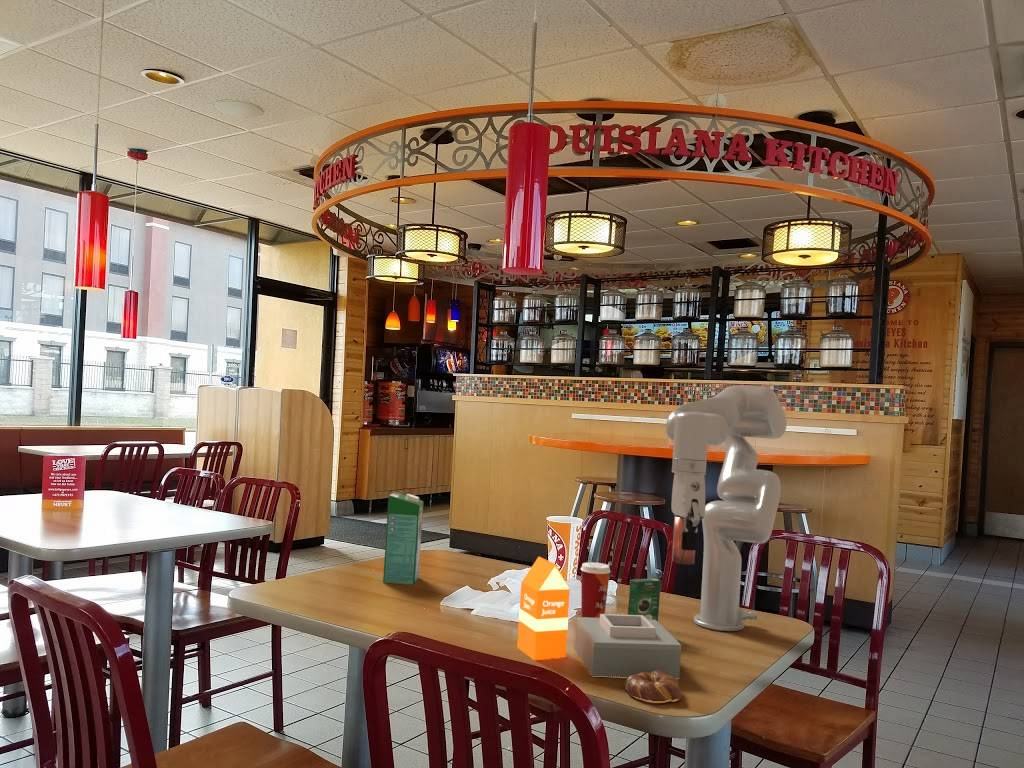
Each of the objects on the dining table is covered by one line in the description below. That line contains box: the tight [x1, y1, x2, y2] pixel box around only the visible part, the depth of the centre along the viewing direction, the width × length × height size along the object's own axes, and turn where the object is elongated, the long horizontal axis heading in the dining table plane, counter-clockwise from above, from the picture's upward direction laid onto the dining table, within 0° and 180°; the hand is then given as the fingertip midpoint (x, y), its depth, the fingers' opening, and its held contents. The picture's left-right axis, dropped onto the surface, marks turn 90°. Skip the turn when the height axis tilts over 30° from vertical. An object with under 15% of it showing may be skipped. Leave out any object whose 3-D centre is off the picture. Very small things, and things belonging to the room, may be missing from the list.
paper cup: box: [580, 561, 612, 618], centre depth 200 cm, size 8×8×14 cm
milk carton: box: [382, 491, 424, 585], centre depth 230 cm, size 9×9×25 cm
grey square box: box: [574, 613, 682, 679], centre depth 168 cm, size 18×18×9 cm
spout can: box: [671, 515, 696, 565], centre depth 179 cm, size 5×5×11 cm
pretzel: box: [623, 670, 682, 701], centre depth 151 cm, size 12×11×4 cm
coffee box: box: [627, 577, 662, 623], centre depth 191 cm, size 8×3×13 cm, turn 123°
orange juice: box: [516, 556, 571, 661], centre depth 172 cm, size 8×9×20 cm
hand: (684, 546), depth 179 cm, fingers closed on spout can, 5 cm apart
